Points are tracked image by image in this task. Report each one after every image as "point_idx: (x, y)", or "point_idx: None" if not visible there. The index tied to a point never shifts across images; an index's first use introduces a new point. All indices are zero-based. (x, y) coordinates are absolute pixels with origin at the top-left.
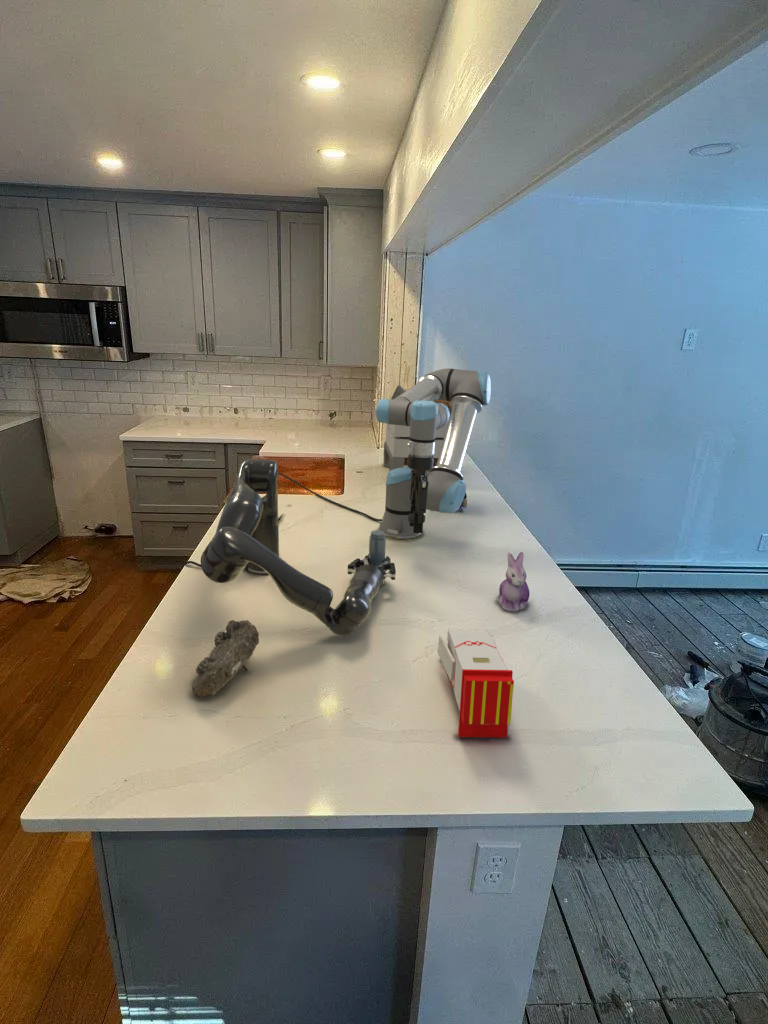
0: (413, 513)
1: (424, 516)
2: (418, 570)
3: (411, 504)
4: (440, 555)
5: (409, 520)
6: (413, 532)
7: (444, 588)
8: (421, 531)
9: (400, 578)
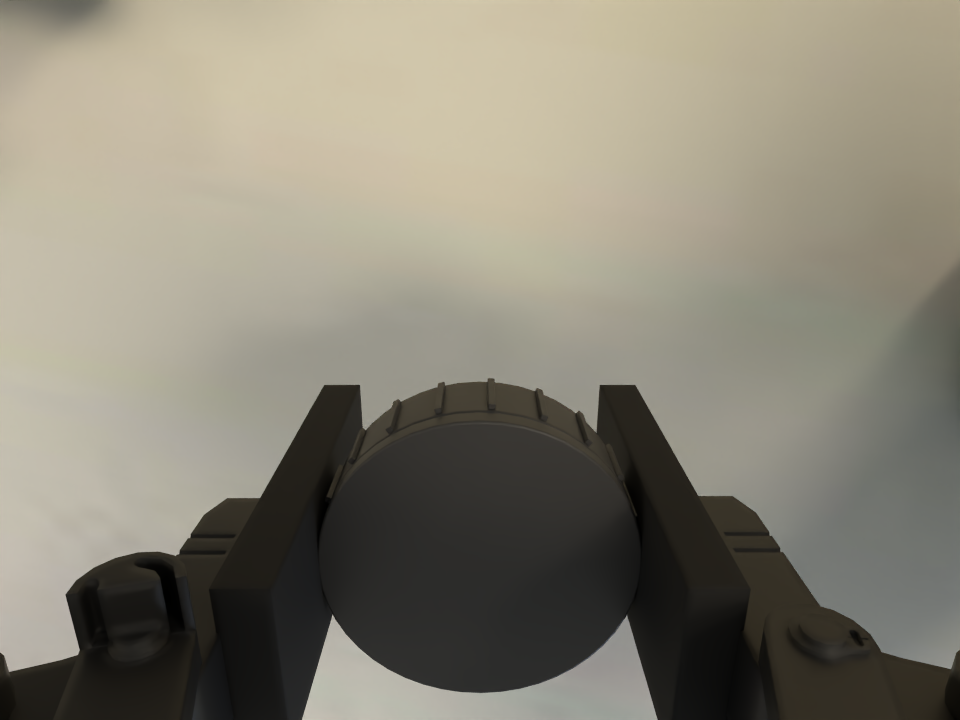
0: (616, 535)
1: (439, 678)
2: (358, 318)
3: (762, 621)
4: None
5: (418, 402)
6: (332, 387)
7: (74, 437)
8: None
9: (204, 142)
